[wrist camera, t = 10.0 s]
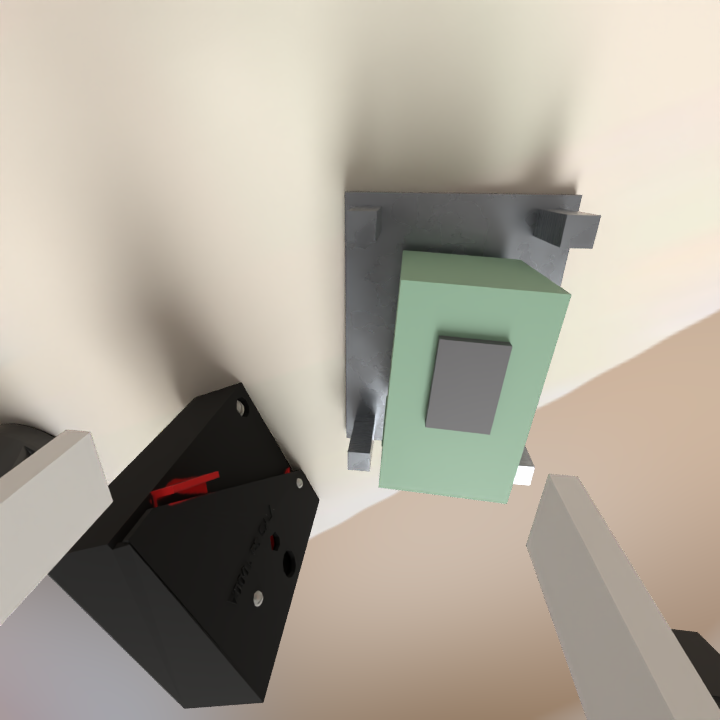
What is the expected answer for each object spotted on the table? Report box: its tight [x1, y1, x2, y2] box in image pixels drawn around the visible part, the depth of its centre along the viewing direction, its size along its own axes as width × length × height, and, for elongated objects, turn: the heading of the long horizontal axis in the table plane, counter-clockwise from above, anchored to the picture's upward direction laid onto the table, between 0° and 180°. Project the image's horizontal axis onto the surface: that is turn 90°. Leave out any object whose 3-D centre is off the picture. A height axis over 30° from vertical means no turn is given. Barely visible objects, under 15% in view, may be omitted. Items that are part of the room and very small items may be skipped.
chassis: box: [345, 192, 601, 485], centre depth 32 cm, size 18×24×7 cm
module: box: [379, 250, 571, 504], centre depth 28 cm, size 9×15×11 cm, turn 177°
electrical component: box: [47, 383, 319, 708], centre depth 35 cm, size 18×10×20 cm, turn 22°
